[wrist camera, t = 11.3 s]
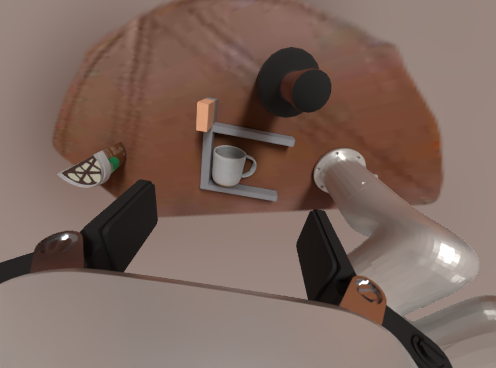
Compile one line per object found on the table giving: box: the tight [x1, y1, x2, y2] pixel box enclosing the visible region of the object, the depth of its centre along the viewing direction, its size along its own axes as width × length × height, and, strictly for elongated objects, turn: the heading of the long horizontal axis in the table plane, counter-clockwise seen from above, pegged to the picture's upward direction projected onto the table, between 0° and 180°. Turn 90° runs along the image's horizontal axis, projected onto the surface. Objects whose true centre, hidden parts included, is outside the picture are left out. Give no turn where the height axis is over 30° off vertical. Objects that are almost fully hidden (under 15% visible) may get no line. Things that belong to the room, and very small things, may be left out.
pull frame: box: [196, 97, 295, 201], centre depth 43 cm, size 20×22×9 cm
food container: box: [57, 142, 126, 187], centre depth 45 cm, size 12×6×10 cm, turn 114°
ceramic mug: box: [212, 145, 257, 187], centre depth 45 cm, size 11×8×8 cm
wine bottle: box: [257, 47, 331, 118], centre depth 26 cm, size 8×8×30 cm
